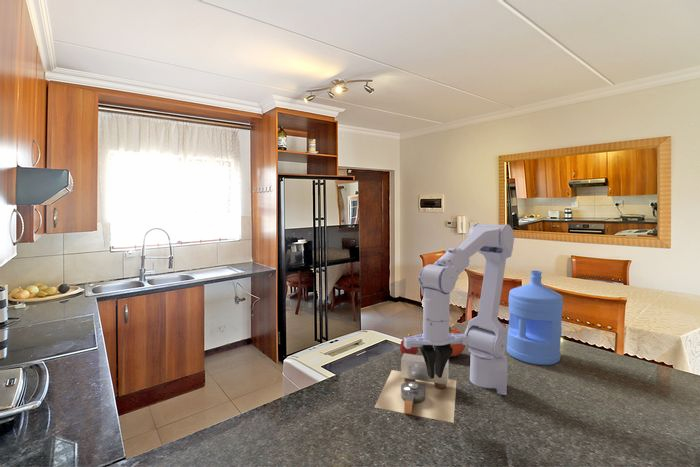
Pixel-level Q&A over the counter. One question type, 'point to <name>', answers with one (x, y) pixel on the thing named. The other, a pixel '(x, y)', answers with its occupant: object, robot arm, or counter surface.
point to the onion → (408, 351)
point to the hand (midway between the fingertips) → (434, 376)
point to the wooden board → (433, 407)
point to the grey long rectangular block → (420, 369)
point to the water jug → (535, 323)
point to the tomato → (456, 347)
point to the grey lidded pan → (412, 395)
